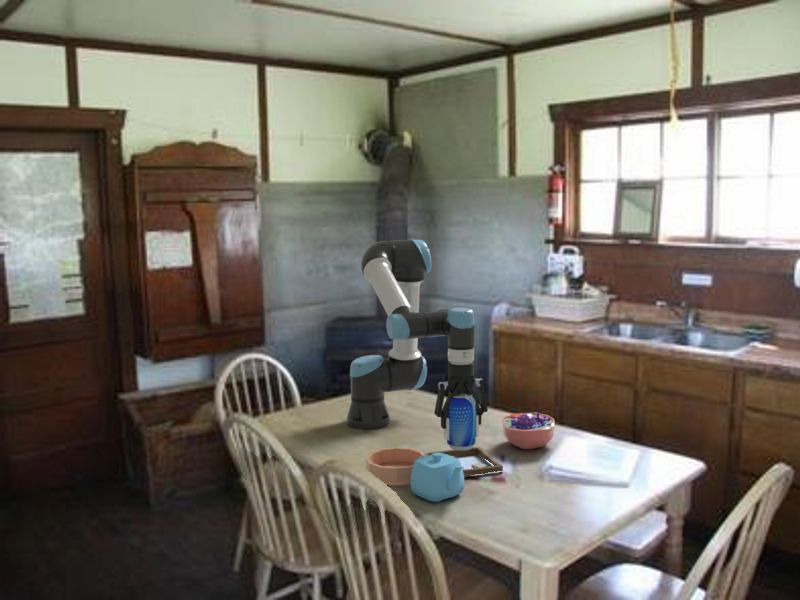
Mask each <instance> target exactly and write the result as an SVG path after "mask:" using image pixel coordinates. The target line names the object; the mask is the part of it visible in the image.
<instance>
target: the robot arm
mask: <svg viewBox="0 0 800 600" xmlns="http://www.w3.org/2000/svg"><path fill="white" fill-rule="evenodd" d="M360 269H361V273H362V275H363V277H364V279H365V280H366V281H367V282H368V283H370V284H371V286H372V288H373V290H374V291H375V294H376V295H377V297H378V300H379V301H380V303H381V304H382V307H383V309H384V310H385V312H386V315H387V318H386V320H385V321H386V323H385V324H386V325H385V326H386V331H387V336H388V337H389V338H390V339H391V340H392V341H393V342H392V348H391V349H390V350H389V351H388V356H387V357H388V358H384V357H383V356H382V355H381V354H371V355H370V354H369V355H363V356H360V357H357V358H356V359H354V360H353V361H352V362H351V363H350V367H349V368H350V370H349V378H350V405H349V408H348V412H347V416H346V425H347V426H348V427H351V428H354V429H361V430H373V429H379V428H383V427H386V426H388V425H389V424H390V423H391V420H390V417H391V416H390V413H389V410H388V407H387V405H386V402H385V393H390V392H400V391H412V390H415V389H416V390H417V389H420V388H422V387H423V385H424V384H425V382H426V379H427V373H428V367H427V360H426V359H425V357H424V356H423V355H422V352H421V350H419V349H418V346H419V345H418V343H419V342H418V340H419V339H423V338H436V337H437V338H438V337H447V361H448V363H447V379H446V381H443V382H441V381H438V382H437V389H438V390H437V391H438V392H437V397H436V403H435V407H434V415H435V416H437V418H440V428H442V429H443V438H444V440H446V441H447V440H449V418H448V417H447V415H448V413H449V411H450V402H451V400H452V399H453V397H454V396H457V394H462V393H464V394H469V395H472V396H473V398H474V400H475V402H476V438H479V427H480V426H481V425H482V416H483V415H484V413H487V412H488V404H487V398H486V393H485V389H484V386H485V380H484V379H482V378H481V377H479V378H476V377H475V363H474V361H475V324H476V323H475V317H474V316H475V315H474V314H475V313H474V310H473V309H471V308H466V307H453V308H450V309H449V308H438V309H436V310H434V311H425V312H424V311H421V312H420V290H421V289H420V288H421V284H422V283H423V282H424V281H425V277H426V276H425V275H427V274H428V273H430V272H431V270H432V255H431V252H430V249H429V247H428V245H427V243H426V241H423V240H422V239H412V238H410V239H396V240H395V239H393V240H381V241H380V240H379V241H377V242H375V243H373V244H371V245H370V246H369V247H368V248H367V249H366V250H365V251H364V253H363V255H362V257H361V261H360ZM474 385H475V387H476V390H477V395H478V400H477V399H476V396H475V393H474V391H473V387H474ZM447 387H449V391H448V394H447V397H446V399H445V394H446V390H447ZM444 401H445V402H444ZM478 401H479V402H478Z"/></svg>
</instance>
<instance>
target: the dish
mask: <svg viewBox="0 0 800 600" xmlns="http://www.w3.org/2000/svg"><path fill="white" fill-rule="evenodd" d="M424 453H425V452H424V451H421V450H418V449H415V448H411V447H410V448H407V447H397V446H396V447H388V448H381V449H378V450H376V451H372V452H370V453H369V454H368V455H367V456H366V458H365V470H366V469H367V470H368V471H369V472H371V473H372V474H373V475H375V476H376V477H377V478H379V479H380V480H381V481H383V482H384V483H385V484H387V485H389V486H388V487H404V486H411V473H412V469H413V465H414V461H415V460H417V459H418V458H419V457H420V456H423V455H425V454H424ZM425 456H426V455H425Z"/></svg>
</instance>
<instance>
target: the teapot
mask: <svg viewBox="0 0 800 600" xmlns="http://www.w3.org/2000/svg"><path fill="white" fill-rule="evenodd" d="M464 468H465V467H464V466H462V463H461V459H459V458H457V457H452V456H450V455H447V454H444V453H433V454H432V455H428V456H425V455H423V456H420V457H419V458H418V459H417V460H415V461H414V465H413V469H412V473H411V485H410V489H411V491H412V494H415V495H417V496H419V497H420V498H423V499H424V500H427V501H429V502H433V503H440V502H441V501H442V500H447V499H450V498H455V497H456V496H458V495H460V494H461V493H463V491H464V489H465V485H466V484H465V478H464V474H463V470H464Z"/></svg>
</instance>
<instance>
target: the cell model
mask: <svg viewBox="0 0 800 600" xmlns="http://www.w3.org/2000/svg"><path fill="white" fill-rule="evenodd" d="M501 422H502V435H503V436H504V437H505V439H506V440H507V441H508V442H509V443H510V444H512V445H514V446H515V447H518V448H520V449H521V450H522V449H523V450H531V449H534V450H535V449H537V448H543V447H544V446H546V445H548V444H549V443H550V442H551V441H552V440H553V436H554V433H555V428H556V421H555V419H554V418H553V417H552V416H550V415H549V414H544V413H540V412H539V411H535V412H523V413H522V412H521V413H512V414H508V415H505V416H503V417H502V418H501Z"/></svg>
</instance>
